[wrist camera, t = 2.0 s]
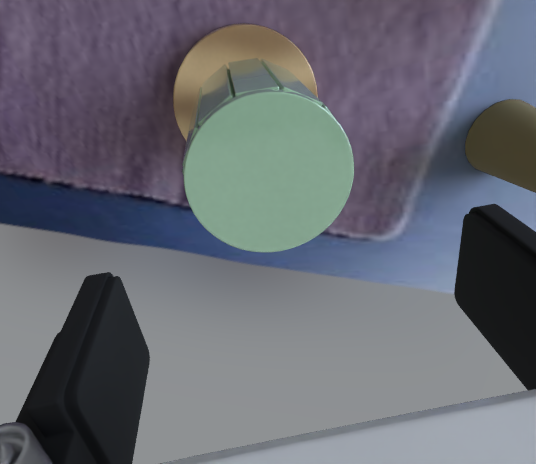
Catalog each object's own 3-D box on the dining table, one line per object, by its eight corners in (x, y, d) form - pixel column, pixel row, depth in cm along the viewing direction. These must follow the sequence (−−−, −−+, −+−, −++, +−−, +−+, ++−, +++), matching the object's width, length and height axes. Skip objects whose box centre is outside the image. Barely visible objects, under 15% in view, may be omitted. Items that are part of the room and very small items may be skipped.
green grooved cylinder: (180, 69, 22) (163, 108, 15) (304, 50, 23) (352, 77, 15) (206, 185, 26) (203, 265, 18) (313, 167, 26) (356, 238, 19)
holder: (157, 35, 26) (112, 68, 14) (308, 12, 27) (386, 25, 15) (192, 177, 32) (179, 288, 20) (318, 156, 32) (382, 252, 20)
